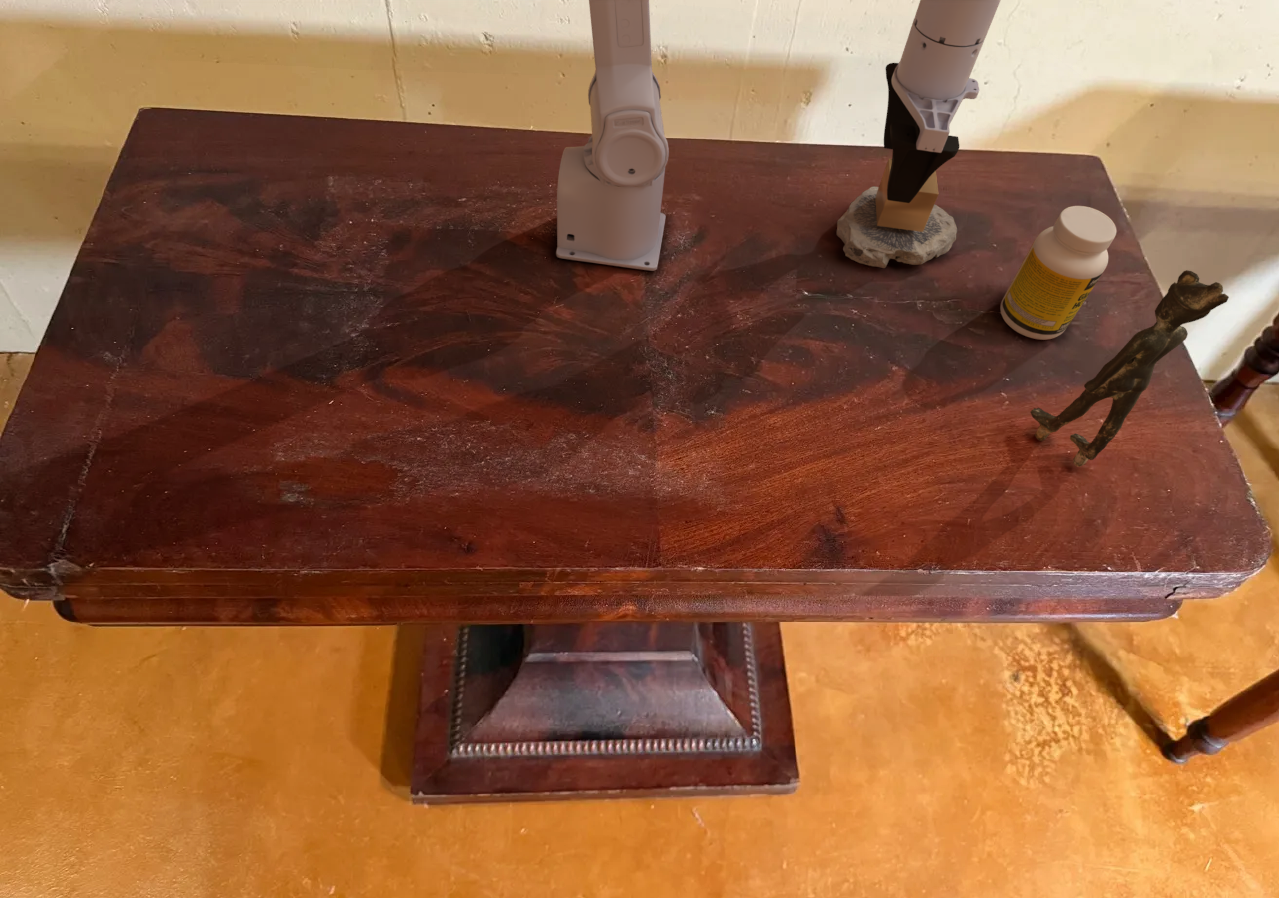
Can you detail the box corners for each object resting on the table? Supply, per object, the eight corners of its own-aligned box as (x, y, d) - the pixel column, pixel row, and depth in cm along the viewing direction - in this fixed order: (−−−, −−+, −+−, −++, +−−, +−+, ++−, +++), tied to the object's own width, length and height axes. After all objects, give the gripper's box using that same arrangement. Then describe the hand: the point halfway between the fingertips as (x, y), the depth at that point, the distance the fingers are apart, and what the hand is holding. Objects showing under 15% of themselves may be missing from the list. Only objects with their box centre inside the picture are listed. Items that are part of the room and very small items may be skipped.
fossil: (872, 261, 81) (831, 176, 84) (852, 288, 84) (814, 205, 88) (972, 249, 85) (929, 168, 88) (950, 274, 88) (909, 196, 92)
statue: (1050, 410, 76) (1182, 224, 59) (1104, 465, 72) (1259, 284, 56) (1009, 428, 74) (1133, 243, 58) (1062, 485, 71) (1209, 306, 55)
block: (876, 225, 84) (890, 187, 80) (875, 196, 86) (888, 158, 83) (923, 232, 84) (938, 194, 80) (920, 202, 86) (935, 164, 83)
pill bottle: (1062, 350, 80) (1125, 257, 71) (994, 330, 81) (1047, 235, 72) (1067, 305, 83) (1127, 211, 74) (1002, 286, 84) (1053, 191, 75)
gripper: (1011, 85, 65) (946, 230, 76) (990, -11, 74) (934, 132, 85) (916, 72, 65) (865, 219, 76) (906, -23, 74) (861, 121, 85)
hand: (896, 172), depth 81 cm, fingers open, 7 cm apart
